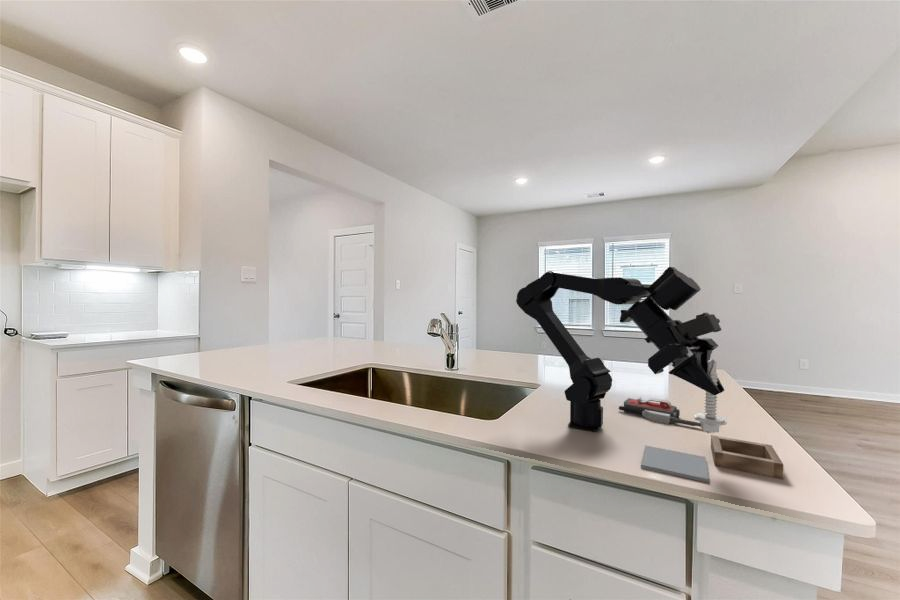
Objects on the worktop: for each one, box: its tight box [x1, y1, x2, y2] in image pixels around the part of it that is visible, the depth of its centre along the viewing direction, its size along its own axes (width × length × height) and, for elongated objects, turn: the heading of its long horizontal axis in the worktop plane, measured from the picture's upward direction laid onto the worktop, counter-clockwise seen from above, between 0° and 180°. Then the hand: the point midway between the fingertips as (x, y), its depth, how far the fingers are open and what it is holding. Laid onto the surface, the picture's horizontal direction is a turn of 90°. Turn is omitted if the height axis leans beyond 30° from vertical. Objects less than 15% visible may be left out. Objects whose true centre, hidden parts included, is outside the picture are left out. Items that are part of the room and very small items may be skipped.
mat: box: [640, 444, 710, 484], centre depth 68 cm, size 10×10×1 cm
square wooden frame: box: [710, 434, 784, 480], centre depth 69 cm, size 9×9×2 cm
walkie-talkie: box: [618, 397, 701, 428], centre depth 94 cm, size 9×4×20 cm
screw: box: [693, 358, 727, 434], centre depth 68 cm, size 13×5×5 cm
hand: (719, 393), depth 67 cm, fingers closed on screw, 2 cm apart
